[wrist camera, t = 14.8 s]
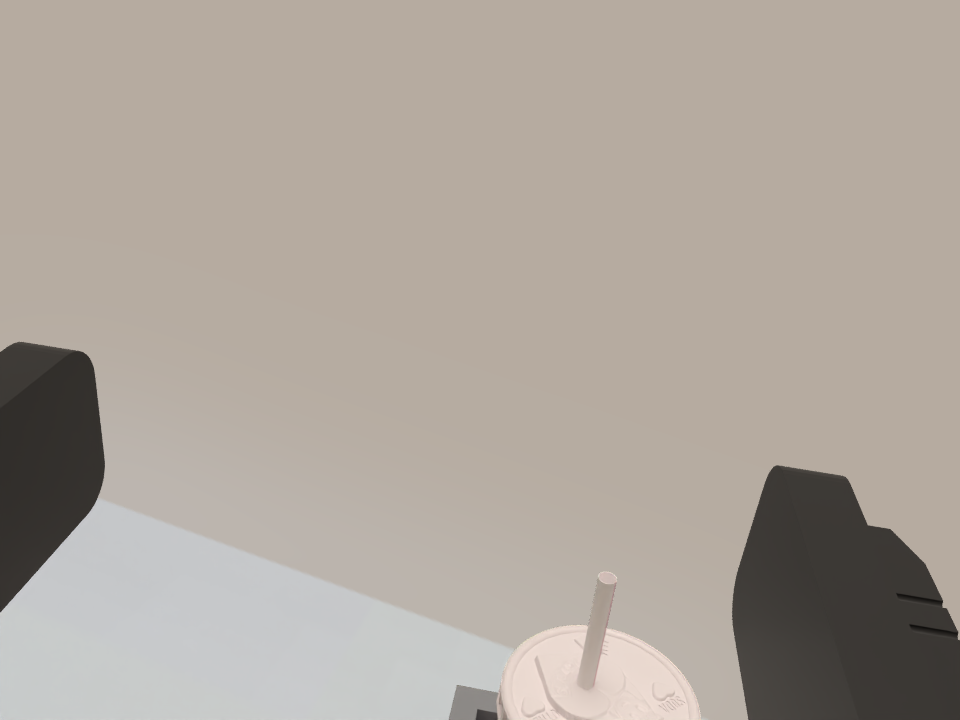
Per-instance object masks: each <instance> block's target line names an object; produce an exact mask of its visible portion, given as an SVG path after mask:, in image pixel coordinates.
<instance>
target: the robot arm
mask: <svg viewBox="0 0 960 720" xmlns="http://www.w3.org/2000/svg"><path fill="white" fill-rule="evenodd" d="M104 469H105V461H104V451H103V443H102V433H101V424H100V416H99V407H98V398H97V389H96V381H95V373H94V367H93V365H92V362H91V360H90V358H89V357H88V356H87V355H86V354H85V353H83V352H80V351H75V350H69V349H62V348H56V347H50V346H44V345H38V344H31V343H24V342H17V343H14V344H12V345H10V346H8V347H7V348H6V349H4V350H3V351H1V352H0V612H1V611H2V610H3V609H4V608H5V607H6V606H7V604H8V603H9V602H10V601H11V600H12V599H13V598H14V597H15V595H16V594H17V593H18V592H19V591H20V590H21V589H22V588H23V586H24V585H25V584H26V583H27V582H28V581H29V580H30V579H31V577H32V576H33V575H34V574H35V573H36V572H37V571H38V570H39V568H40V567H41V566H42V565H43V564H44V563H45V562H46V561H47V559H48V558H49V557H50V556H51V555H52V554H53V553H54V552H55V550H56V549H57V548H58V547H59V546H60V545H61V544H62V543H63V541H64V540H65V539H66V538H67V537H68V536H69V535H70V534H71V532H72V531H73V530H74V529H75V528H76V527H77V526H78V525H79V523H80V522H81V521H82V520H83V519H84V518H85V517H86V516H87V514H88V513H89V512H90V511H91V509H92V507H93V506H94V504H95V502H96V500H97V498H98V495H99V493H100V490H101V486H102V483H103V478H104ZM942 603H943V600H942V598H941V596H940V594H939V592H938V590H937V587H936V585H935V583H934V581H933V579H932V577H931V575H930V573H929V571H928V569H927V567H926V565H925V564H924V562H923V561H922V560H921V559H919V557H918V556H917V555H916V554H915V553H914V552H913V551H912V550H911V549H910V548H909V547H908V546H907V545H906V544H905V543H904V542H903V541H902V540H901V539H900V538H898V536H896V534H894V532H893V531H892V530H891V529H886V528H880V527H874V526H868V525H867V523H866V520H865V518H864V515H863V513H862V511H861V508H860V506H859V504H858V501H857V499H856V497H855V494H854V492H853V489H852V487H851V485H850V483H849V481H848V479H847V478H846V477H844V476H840V475H834V474H828V473H821V472H815V471H809V470H803V469H796V468H790V467H784V466H775V467H773V468H772V470H771V471H770V473H769V474H768V477H767V479H766V482H765V485H764V488H763V491H762V494H761V497H760V501H759V504H758V507H757V510H756V513H755V517H754V520H753V523H752V526H751V530H750V533H749V536H748V539H747V543H746V546H745V549H744V552H743V556H742V559H741V562H740V565H739V568H738V572H737V576H736V581H735V586H734V594H733V608H732V617H733V619H732V620H733V629H734V636H735V642H736V648H737V654H738V660H739V666H740V672H741V677H742V683H743V690H744V696H745V702H746V707H747V714H748V719H749V720H960V640H958V637H957V636H958V631H957V629H956V627H955V625H954V623H953V620H952V619H951V616H950V614H949V612H948V610H947V609H946V608H942Z"/></svg>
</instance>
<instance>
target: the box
mask: <svg viewBox="0 0 960 720" xmlns="http://www.w3.org/2000/svg"><path fill="white" fill-rule="evenodd" d="M497 696H498V693H496V692H491V691H486V690H481V689H476V688H471V687H465V686H460V685H457V687H456V691H455V696H454V700H453V704H452V708H451V712H450V716H449V720H498V716H497V704H496V700H497Z"/></svg>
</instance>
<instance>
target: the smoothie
mask: <svg viewBox="0 0 960 720" xmlns="http://www.w3.org/2000/svg"><path fill="white" fill-rule="evenodd" d="M616 582H617V578H616V576H615V575H614V574H612V573H610V572H601V573H600V574H599V575H598V581H597V585H596V590H595V595H594V600H593V605H592V610H591V615H590V619H589V625H570V626H562V627H556V628H552V629H549V630H546V631H543V632H540V633H538V634H536V635H534V636H532V637H531V638H529V639H527V640H526V641H524V642H523V643H522V644H521V645H520V646H519V647H518V648H516V650H515V651H514V652H513V653H512V655H511V656H510V658H509V659H508V661H507V663H506V665H505V668H504V671H503V674H502V680H501V685H500V689H499V692H498V696H497V700H496V704H497V716H498V720H701V717H700V709H699V705H698V702H697V699H696V696H695V694H694V692H693V689H692V688H691V686H690V684H689V682H688V681H687V679H686V678H685V676H684V675H683V674H682V673H681V671H680V670H679V669H678V668H677V667H676V666H675V665H674V664H673V663H672V662H671V661H670V660H669V659H668V658H667V657H666V656H664V655H663V654H662V653H660V652H659V651H658V650H657V649H655V648H653V647H652V646H650V645H648V644H647V643H645V642H643V641H642V640H640V639H637V638H635V637H633V636H631V635H628V634H626V633H623V632H620V631H616V630H613V629H609V628H607V624H608V619H609V615H610V610H611V605H612V601H613V596H614V591H615V587H616Z"/></svg>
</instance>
